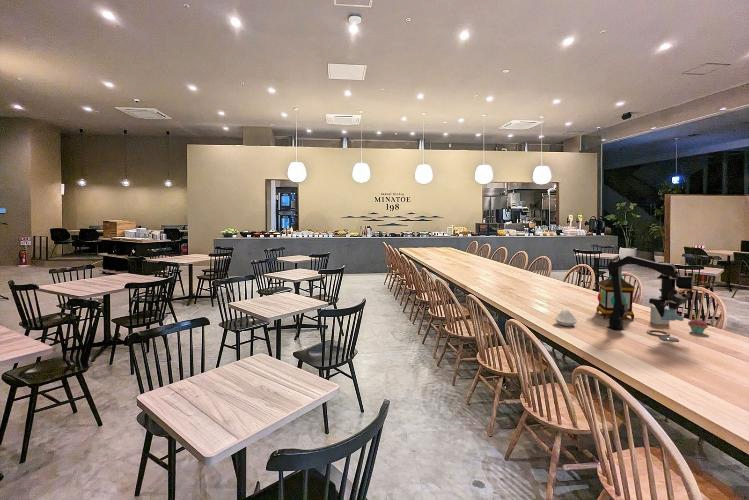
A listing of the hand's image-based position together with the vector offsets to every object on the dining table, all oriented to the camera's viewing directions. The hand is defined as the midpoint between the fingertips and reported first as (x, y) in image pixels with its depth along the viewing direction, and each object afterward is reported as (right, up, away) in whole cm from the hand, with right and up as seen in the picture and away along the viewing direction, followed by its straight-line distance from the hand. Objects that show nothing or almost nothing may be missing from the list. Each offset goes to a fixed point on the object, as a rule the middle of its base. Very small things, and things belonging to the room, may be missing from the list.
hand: (667, 316), depth 207 cm
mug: (+1, -2, -3) cm, 3 cm away
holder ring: (+1, -11, +7) cm, 13 cm away
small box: (+17, -9, +28) cm, 34 cm away
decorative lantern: (0, -8, +46) cm, 46 cm away
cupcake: (+24, -11, +9) cm, 28 cm away
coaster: (-1, -12, -2) cm, 12 cm away
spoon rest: (-38, -10, +33) cm, 52 cm away
